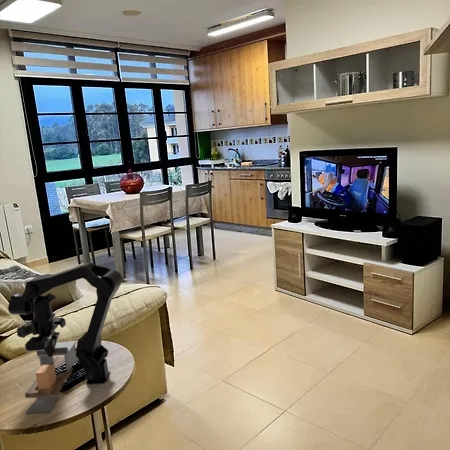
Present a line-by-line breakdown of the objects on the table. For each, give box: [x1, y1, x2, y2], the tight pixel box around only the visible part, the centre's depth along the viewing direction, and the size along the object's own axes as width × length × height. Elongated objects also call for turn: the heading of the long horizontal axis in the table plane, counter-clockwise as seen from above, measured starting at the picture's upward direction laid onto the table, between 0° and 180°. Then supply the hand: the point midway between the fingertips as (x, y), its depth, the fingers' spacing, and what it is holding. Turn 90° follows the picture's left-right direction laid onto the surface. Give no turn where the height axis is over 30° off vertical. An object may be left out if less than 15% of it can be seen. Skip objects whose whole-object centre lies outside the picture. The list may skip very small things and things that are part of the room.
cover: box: [35, 340, 77, 372], centre depth 149 cm, size 10×8×8 cm
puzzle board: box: [24, 356, 79, 397], centre depth 146 cm, size 10×22×1 cm, turn 179°
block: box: [35, 364, 58, 390], centre depth 139 cm, size 4×5×6 cm
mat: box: [25, 396, 59, 415], centre depth 130 cm, size 7×7×1 cm
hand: (50, 356), depth 143 cm, fingers closed
